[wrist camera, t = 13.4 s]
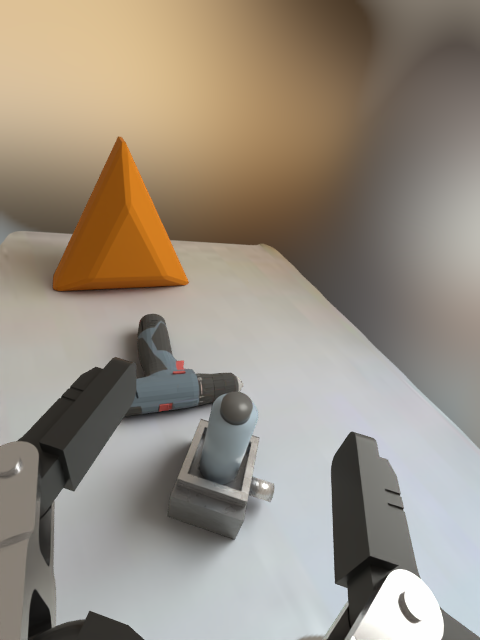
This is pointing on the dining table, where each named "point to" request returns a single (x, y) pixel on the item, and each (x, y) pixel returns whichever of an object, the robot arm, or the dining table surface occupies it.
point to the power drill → (171, 375)
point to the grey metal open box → (216, 491)
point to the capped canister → (227, 436)
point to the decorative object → (119, 235)
